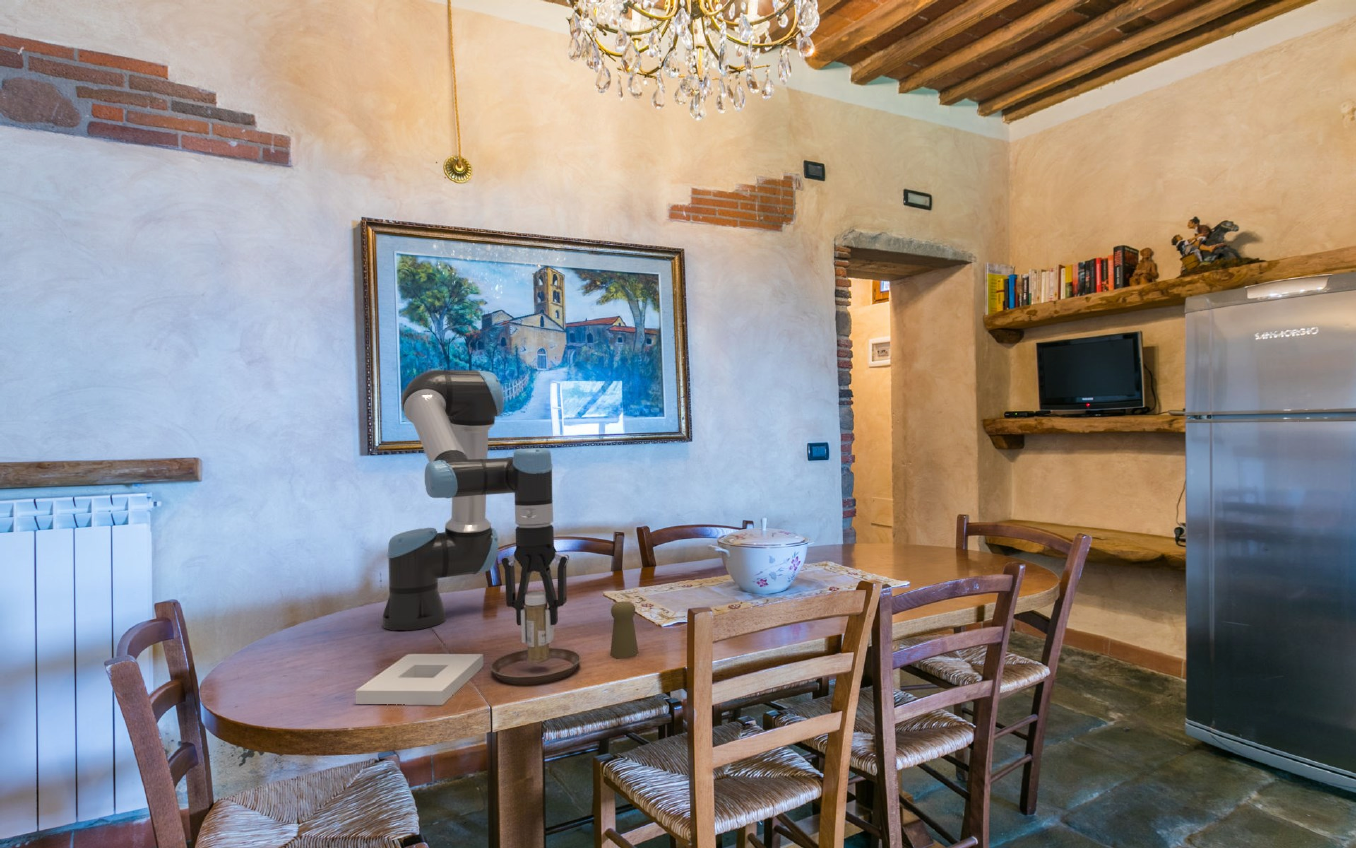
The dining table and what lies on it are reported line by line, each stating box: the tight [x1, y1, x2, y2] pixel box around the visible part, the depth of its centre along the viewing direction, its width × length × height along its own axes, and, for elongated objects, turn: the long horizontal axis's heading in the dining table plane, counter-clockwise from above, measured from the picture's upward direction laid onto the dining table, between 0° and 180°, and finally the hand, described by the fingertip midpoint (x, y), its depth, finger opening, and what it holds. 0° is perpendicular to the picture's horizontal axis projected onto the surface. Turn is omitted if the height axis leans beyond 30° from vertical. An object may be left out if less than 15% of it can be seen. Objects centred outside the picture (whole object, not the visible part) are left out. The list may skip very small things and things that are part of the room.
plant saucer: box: [490, 647, 581, 686], centre depth 140 cm, size 18×18×3 cm
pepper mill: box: [609, 600, 639, 660], centre depth 149 cm, size 6×6×11 cm
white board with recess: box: [355, 653, 484, 706], centre depth 134 cm, size 20×16×2 cm
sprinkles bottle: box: [525, 590, 551, 664], centre depth 140 cm, size 5×5×13 cm
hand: (537, 640), depth 140 cm, fingers closed on sprinkles bottle, 4 cm apart
